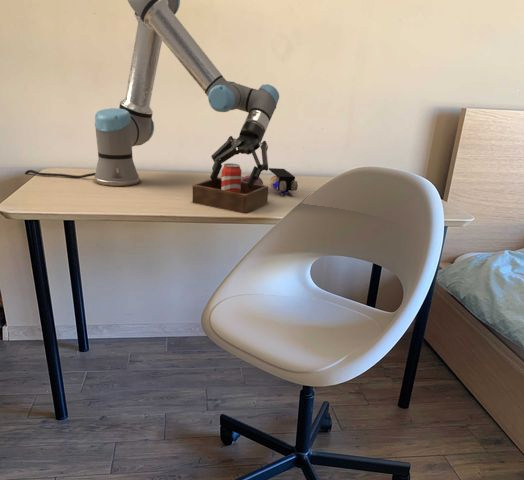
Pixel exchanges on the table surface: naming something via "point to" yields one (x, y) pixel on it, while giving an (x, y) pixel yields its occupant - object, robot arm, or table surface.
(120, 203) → the table surface
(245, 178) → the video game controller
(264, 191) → the brown wooden box
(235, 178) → the beverage can
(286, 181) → the figurine character
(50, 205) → the table surface
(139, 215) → the table surface
